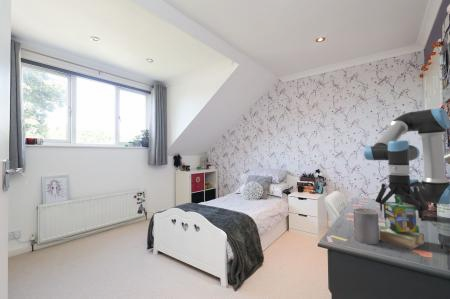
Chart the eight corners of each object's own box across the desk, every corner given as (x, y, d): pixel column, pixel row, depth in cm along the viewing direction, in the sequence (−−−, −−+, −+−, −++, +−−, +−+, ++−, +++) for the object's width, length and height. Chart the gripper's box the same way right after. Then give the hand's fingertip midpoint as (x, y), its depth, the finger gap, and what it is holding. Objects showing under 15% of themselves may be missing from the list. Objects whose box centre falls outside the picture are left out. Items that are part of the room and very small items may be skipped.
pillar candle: (358, 235, 108) (357, 204, 108) (382, 240, 101) (380, 207, 101) (351, 240, 102) (349, 208, 102) (376, 247, 94) (374, 212, 94)
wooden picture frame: (393, 234, 108) (392, 226, 108) (424, 243, 97) (423, 233, 97) (379, 239, 102) (379, 230, 102) (411, 249, 91) (410, 239, 91)
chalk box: (419, 233, 94) (418, 199, 94) (395, 232, 96) (394, 198, 96) (406, 226, 103) (405, 195, 103) (384, 225, 105) (383, 194, 105)
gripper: (366, 173, 109) (367, 216, 109) (430, 177, 88) (432, 231, 87) (374, 172, 113) (376, 214, 112) (438, 175, 91) (440, 227, 91)
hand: (400, 221), depth 100 cm, fingers closed on chalk box, 12 cm apart
